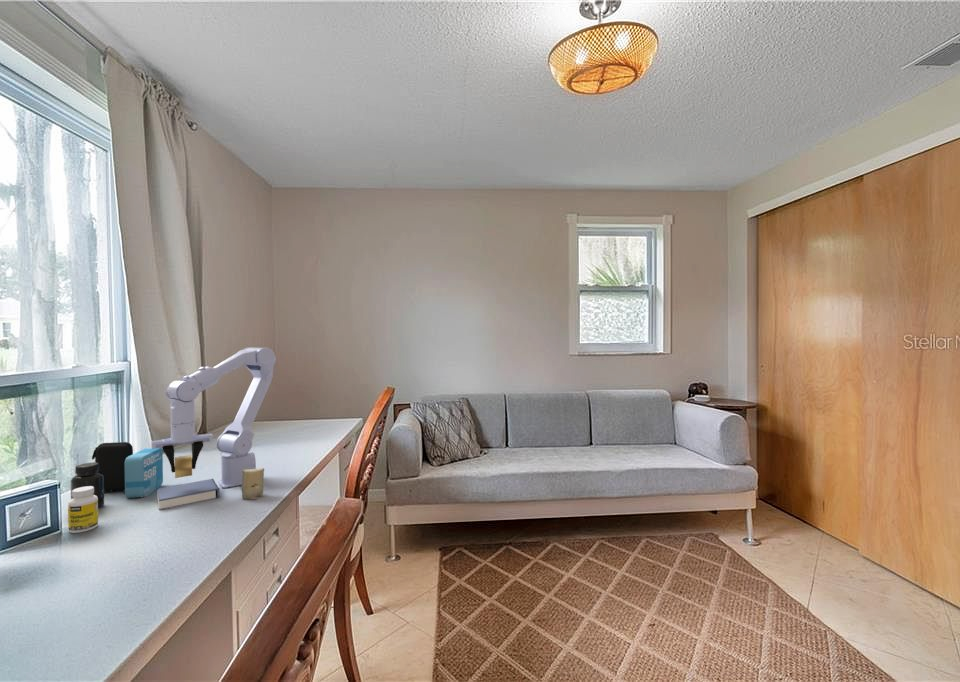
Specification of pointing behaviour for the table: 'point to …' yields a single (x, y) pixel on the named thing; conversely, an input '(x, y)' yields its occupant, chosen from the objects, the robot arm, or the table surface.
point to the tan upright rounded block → (252, 483)
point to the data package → (143, 472)
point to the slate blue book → (187, 493)
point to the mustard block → (183, 466)
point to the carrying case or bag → (113, 463)
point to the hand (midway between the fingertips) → (183, 469)
